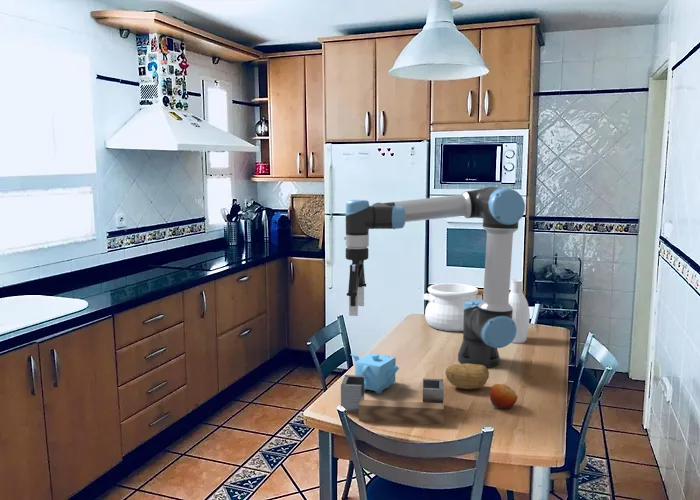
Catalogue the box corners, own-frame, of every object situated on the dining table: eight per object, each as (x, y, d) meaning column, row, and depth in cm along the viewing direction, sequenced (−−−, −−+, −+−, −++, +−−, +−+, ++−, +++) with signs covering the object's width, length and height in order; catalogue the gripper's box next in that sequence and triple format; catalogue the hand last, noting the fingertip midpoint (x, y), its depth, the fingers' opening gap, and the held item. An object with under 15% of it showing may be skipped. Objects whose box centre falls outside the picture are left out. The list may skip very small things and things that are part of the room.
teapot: (386, 401, 184) (387, 366, 183) (338, 389, 194) (337, 356, 192) (409, 385, 198) (410, 352, 196) (363, 375, 207) (363, 343, 205)
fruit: (480, 397, 183) (493, 376, 182) (501, 409, 184) (514, 388, 183) (488, 408, 175) (502, 385, 174) (510, 420, 176) (524, 398, 175)
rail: (443, 419, 171) (443, 403, 171) (443, 425, 167) (444, 408, 167) (360, 415, 174) (360, 399, 173) (358, 421, 170) (358, 405, 170)
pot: (422, 331, 261) (422, 292, 258) (424, 317, 285) (424, 281, 282) (482, 334, 256) (484, 294, 254) (480, 320, 280) (481, 283, 278)
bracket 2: (442, 404, 181) (443, 379, 180) (443, 416, 173) (443, 390, 172) (422, 403, 182) (423, 378, 181) (422, 415, 173) (422, 389, 172)
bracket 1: (340, 411, 177) (340, 385, 175) (345, 399, 185) (345, 374, 184) (361, 412, 176) (361, 386, 175) (364, 400, 185) (364, 375, 184)
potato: (444, 381, 201) (445, 358, 199) (487, 384, 198) (488, 361, 197) (444, 392, 191) (445, 368, 190) (489, 395, 189) (490, 371, 188)
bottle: (531, 339, 249) (534, 279, 246) (524, 345, 240) (526, 283, 236) (505, 335, 255) (507, 276, 252) (497, 341, 246) (499, 281, 242)
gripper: (352, 242, 208) (351, 301, 211) (338, 252, 183) (338, 319, 186) (373, 242, 207) (372, 302, 209) (362, 253, 182) (362, 320, 185)
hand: (356, 310), depth 198 cm, fingers open, 13 cm apart
